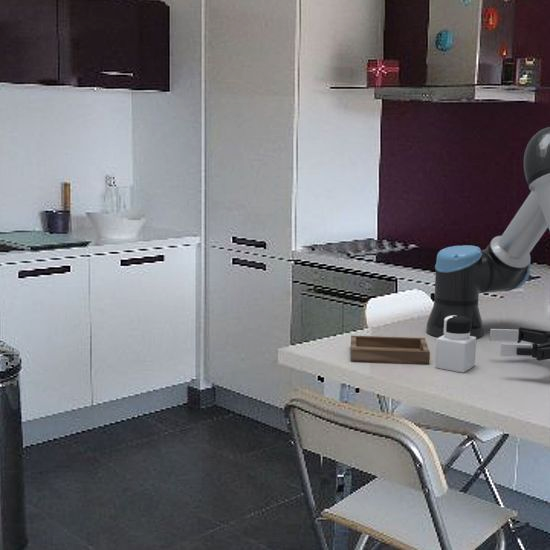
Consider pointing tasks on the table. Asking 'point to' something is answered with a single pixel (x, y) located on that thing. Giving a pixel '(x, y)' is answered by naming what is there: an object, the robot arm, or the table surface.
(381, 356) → the walnut tray
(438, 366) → the medicine bottle
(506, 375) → the table surface
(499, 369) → the table surface
